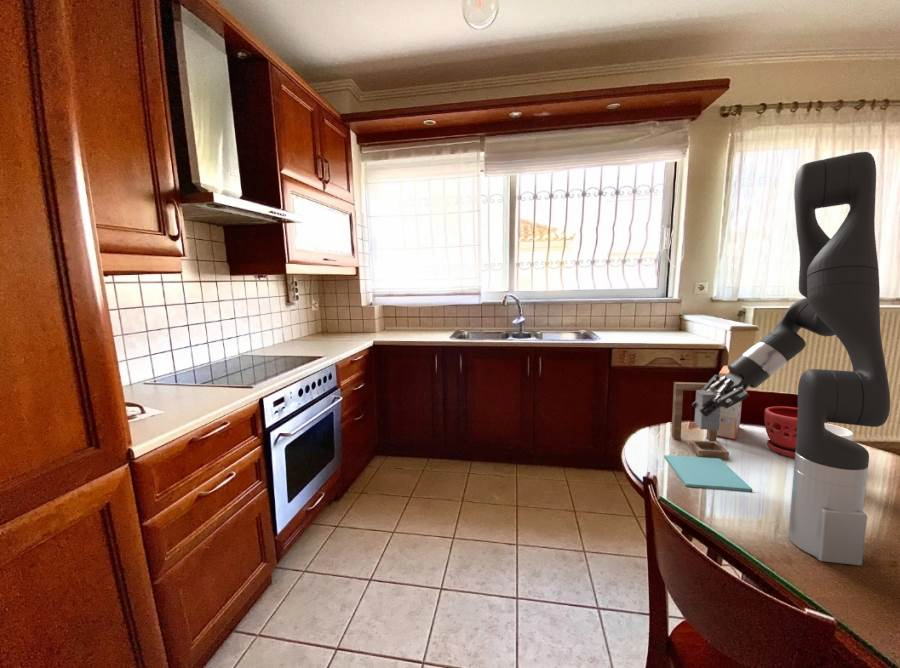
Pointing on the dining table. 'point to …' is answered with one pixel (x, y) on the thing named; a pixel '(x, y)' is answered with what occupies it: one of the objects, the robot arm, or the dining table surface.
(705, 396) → the steel bar
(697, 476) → the teal mat
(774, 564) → the dining table surface
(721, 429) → the cracker box
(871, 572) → the dining table surface
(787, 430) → the plant pot
